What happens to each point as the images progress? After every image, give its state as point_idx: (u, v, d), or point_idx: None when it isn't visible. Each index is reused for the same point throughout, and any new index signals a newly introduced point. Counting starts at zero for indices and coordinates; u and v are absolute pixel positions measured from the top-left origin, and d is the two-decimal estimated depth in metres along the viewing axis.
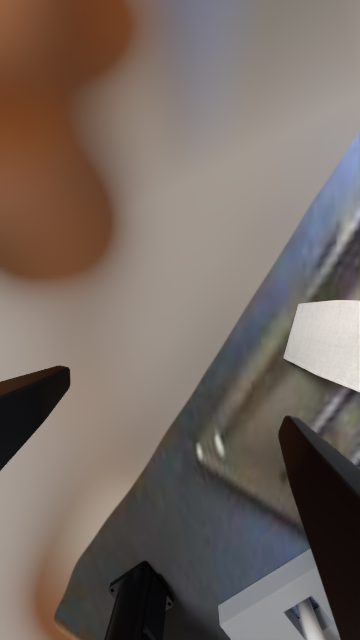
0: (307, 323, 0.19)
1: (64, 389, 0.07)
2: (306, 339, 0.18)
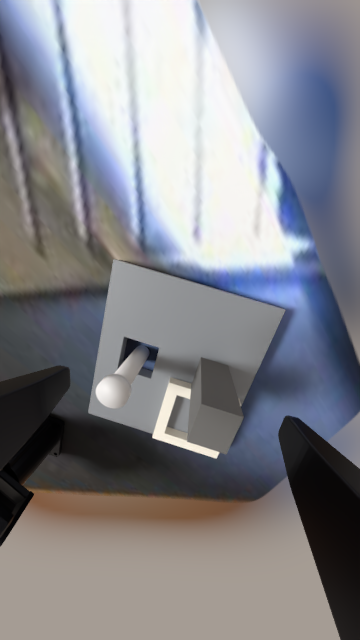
0: None
1: (64, 389, 0.07)
2: None
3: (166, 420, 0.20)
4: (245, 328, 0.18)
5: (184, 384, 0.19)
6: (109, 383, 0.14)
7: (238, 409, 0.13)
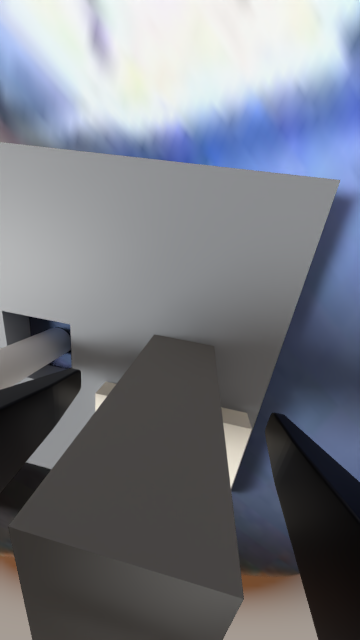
0: None
1: (75, 392, 0.07)
2: None
3: None
4: (240, 251, 0.07)
5: None
6: None
7: (218, 516, 0.03)
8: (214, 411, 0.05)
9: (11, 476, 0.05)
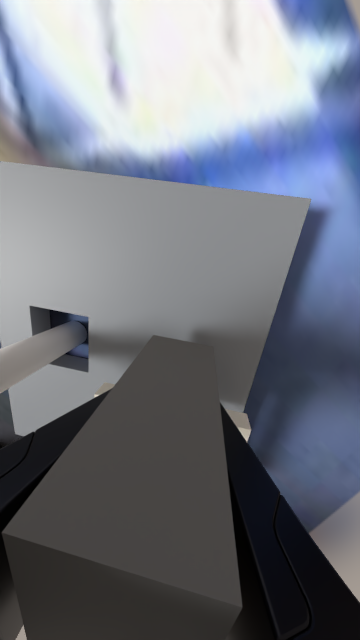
0: None
1: None
2: None
3: None
4: (232, 255, 0.09)
5: None
6: None
7: (217, 522, 0.03)
8: (213, 413, 0.05)
9: None
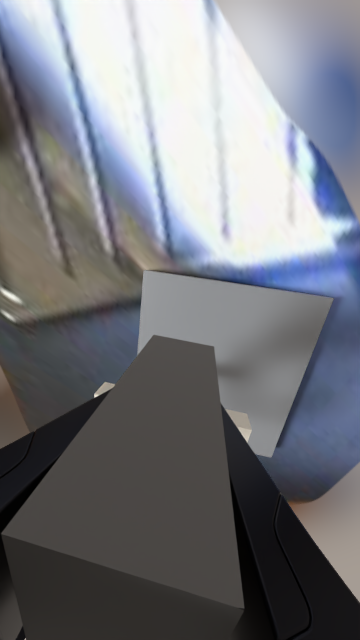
0: None
1: None
2: None
3: None
4: (289, 323, 0.17)
5: None
6: None
7: (218, 523, 0.03)
8: (214, 413, 0.05)
9: None
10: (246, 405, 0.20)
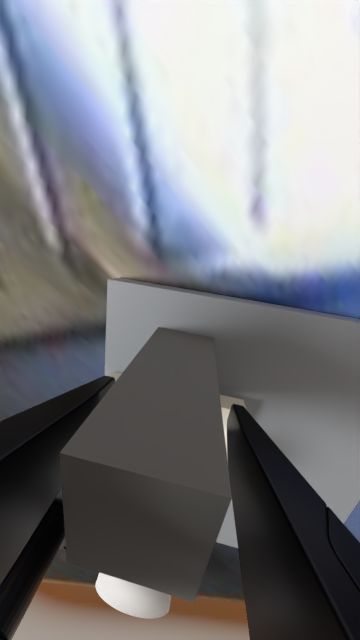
0: None
1: None
2: None
3: None
4: None
5: None
6: (123, 580, 0.06)
7: (214, 453, 0.04)
8: (212, 387, 0.06)
9: (58, 489, 0.05)
10: None
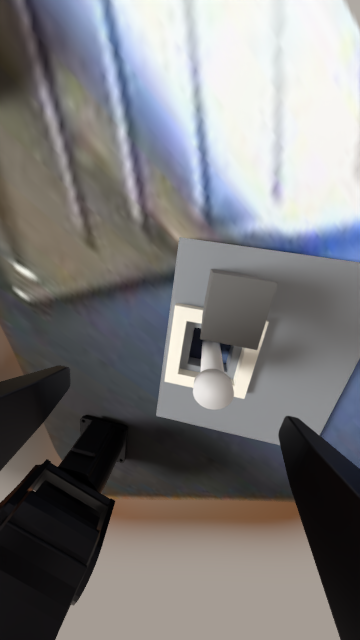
0: None
1: (64, 389, 0.07)
2: None
3: (178, 356, 0.17)
4: (348, 299, 0.14)
5: (195, 307, 0.16)
6: (210, 380, 0.11)
7: (267, 280, 0.09)
8: (257, 277, 0.11)
9: None
10: (287, 394, 0.18)
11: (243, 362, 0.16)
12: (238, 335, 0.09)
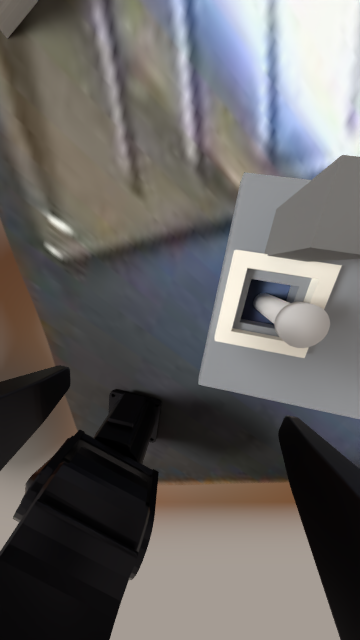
0: None
1: (64, 389, 0.07)
2: None
3: (233, 310, 0.16)
4: None
5: (256, 253, 0.14)
6: (303, 310, 0.10)
7: None
8: None
9: None
10: (349, 354, 0.16)
11: None
12: None
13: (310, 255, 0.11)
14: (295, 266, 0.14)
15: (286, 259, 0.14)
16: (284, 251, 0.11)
